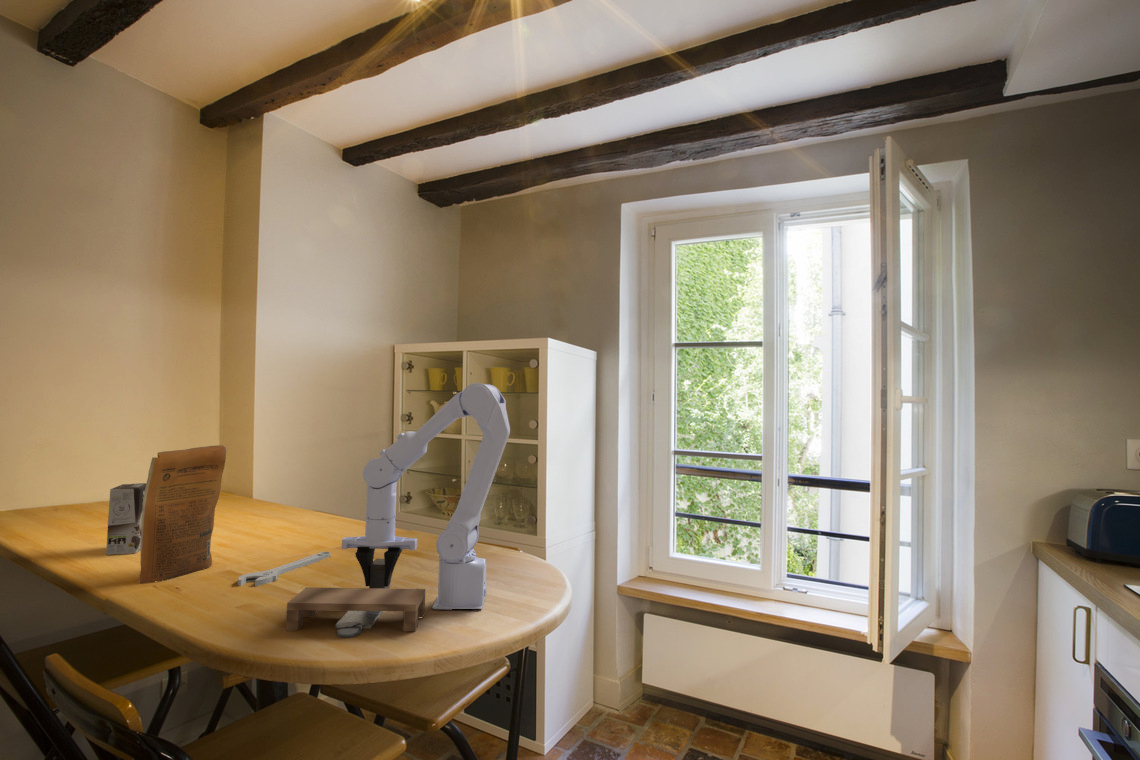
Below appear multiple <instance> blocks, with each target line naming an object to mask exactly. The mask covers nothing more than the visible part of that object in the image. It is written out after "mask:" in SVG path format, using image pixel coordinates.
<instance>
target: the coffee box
mask: <svg viewBox="0 0 1140 760" xmlns="http://www.w3.org/2000/svg"><path fill="white" fill-rule="evenodd" d="M146 483H147V482H145V483H144V482H143V483H129V484H128V483H125V484H124V483H123V484H119V485H117V486H115V487H113V488H110V489H109V490H110V491H109V501H108V503H109V505H108V516H107V517H108V518H107V531H106V532H107V535H106V549H105V551H106V552H105V555H106V556H110V555H111V554H116V555H133V554H132V553H135V554H137V553H138V552H141V527H142V512H143V498H144V493H145V488H146Z"/></svg>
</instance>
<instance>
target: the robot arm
mask: <svg viewBox="0 0 1140 760" xmlns="http://www.w3.org/2000/svg"><path fill="white" fill-rule="evenodd" d="M506 403H507V401H506V399H505V397H504V396H503V395H502V393H501V391H500V390H499V388H498V387H496V386H495V385H492V384H490V383H488V384H487V383H486V384H484V383H481V382H474V383H470V384H468V385H467V386H466V387H465V388H464V389H463V391H459V392H458V393H456V394H454V396H452V398H451V399H449V400H448V401H446V403H445V404H444V405H443V406H442V407H441V408H440V409H438V411H437V412H436V413H435V414H433V415H432V416H431V417H430V418H429V419H428V420H427V421H426V422H425V423H424V424H423V425H422V426H421V427H420V428H418V430H417V431H411V430H409V431H406V432H401V433H399V434H397V436H396V441H395V442H393V443H392V444H391V445H390V446H389V447H388V448H387V449H382V450H381V451H380V452H379V455H380V456H379V457H375V458H372V459H369V460H368V462H367V463H366V465H364V468H363V470H362V477H363V480H364V483H366V486H367V487H366V488H367V489H366V490H367V491H366V505H365V508H366V509H365V532H364V533H365V534H364V535H363V536H345V537H343V538H342V539H341V549H342V550H347V549H356V552H355V558H356V560H357V561H358V564H359V566H360V568H361V570H362V574H363V578H364V581H365V582H364V583H365V587H369V584H370V564H371V563H372V562H373V561H374V558H375V550H376V549H377V550H379V549H381V550H386V551H385V552H384V553H383V556H384V557H383V559H385V577H384V587H388V586H389V585H390V586H391V583H392V582H391V581H392V577H393V574H394V569H395V567H396V564H397V562H398V560H399V557H400V556H401V553H402V552H403V550H409V551H415V550H416V549H417V548H418V538H415V537H406V536H405V537H404V536H396V518H397V517H396V516H397V515H396V513H397V486H398V485H397V484H398V481H400V479H401V477H402V475H403V473H405V472H406V471H407V470H408V469H409V468H411V466H413V465H414V464H415V463H416V462H417V461H419V460H420V459H421V458H422V457H423V456H425V454H426V453H427V451H428V444H429V442H430V441H432V440H433V439H434V438H436V437H437V436H438V435H439V434H441V433H442V432H443V431H444V430H446V429H447V428H448V427H450V425H452V424H453V423H454V422H456V420H458V419H462V418H467V417H470V416H471V417H472V419H474V420H475V421H476V423H477V425H478V427H479V428H480V431H481V432H482V434H483V436H482V437H481V441H480V443H479V447H478V449H477V451H476V454H475V456H474V460H473V462H472V465H471V468H470V471H469V473H468V476H467V479H466V482H465V485H464V487H463V490H462V493H461V496H460V498H459V501H458V503H457V506H456V509H455V510H454V512H453V513H452V515H451V517H450V519H449V521H448V523H447V526H446V528H445V529H444V530H443V531H442V532H441V533H440V534H439V536H438V537H437V539H436V543H435V544H436V545H435V546H436V551H437V554H438V555H439V556H438V557H439V561H438V581H437V583H438V584H437V597H436V599H435V600H434V601H435V602H434V603H433V604H432V609H433V610H452V609H481V610H483V607H484V604H485V600H486V597H487V559H486V558H483V557H477V554H476V551H475V549H474V547H475V546H476V545H477V543H478V541H479V535H480V533H479V525H480V522H481V517H482V516H481V514H482V511H483V508H484V505H485V502H486V500H487V498H488V495H489V491H490V489H491V486H492V484H493V481H494V479H495V476H496V473H497V470H498V467H499V464H500V462H501V459H502V457H503V453H504V451H505V448H506V445H507V442H508V440H509V437H510V434H511V425H510V421H509V416H508V412H507V406H506ZM484 599H485V600H484ZM483 603H484V604H483ZM482 606H483V607H482Z"/></svg>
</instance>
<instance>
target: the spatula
mask: <svg viewBox="0 0 1140 760" xmlns="http://www.w3.org/2000/svg"><path fill="white" fill-rule="evenodd" d="M384 577H385V559H384V558H375V559H373V562H372V563H371V564H370V584H369V586H368V588H383V589H391V587H390V586H391V584H390V585H389V586H388V587H384ZM383 612H384V611H346V612H345V614H344V615H343V616H342V617H341V618H340V619H339V620H338V621H337V622H336V624H335V629H337V627H338V626H339V625H340V624H343V623H346V622H359V623H361V624H362V629H371V628H372V627H373V625H374V624H375V623H376V622H377V620H378V619H379V618H380V616H381V615H382V613H383ZM380 614H381V615H380ZM377 618H378V619H377Z"/></svg>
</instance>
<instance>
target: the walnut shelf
mask: <svg viewBox="0 0 1140 760" xmlns="http://www.w3.org/2000/svg"><path fill="white" fill-rule="evenodd" d="M425 609H426V588H390V589H383V588H369V587H368V588H367V587H364V588H363V587H362V588H361V587H309V586H308V587H305V588H304V589H303V590H301V591H300V592H299V593H297V594H296V595H295V596H293V598H291V599H290V600H289V601H288V602H287V603H286V616H285V617H286V618H285V619H286V620H285V631H287V632H288V631H290V632H291V631H292V632H294V631H297V632H298V631H299V630H300V629H301V628H303V623H304V618H313V617H314V616H315V615H316V614H317V611H341V612H342V611H343V612H344V611H346V612H348V611H383V612H403V629H402V630H403V632H404V631H415V630H417V629H418V627H417V626H419V625H418V624H419V623H418V622H419V618H418V617H424V616H425V614H424V613H425ZM423 615H424V616H423ZM416 628H417V629H416ZM415 632H416V631H415ZM404 633H405V632H404Z"/></svg>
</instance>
